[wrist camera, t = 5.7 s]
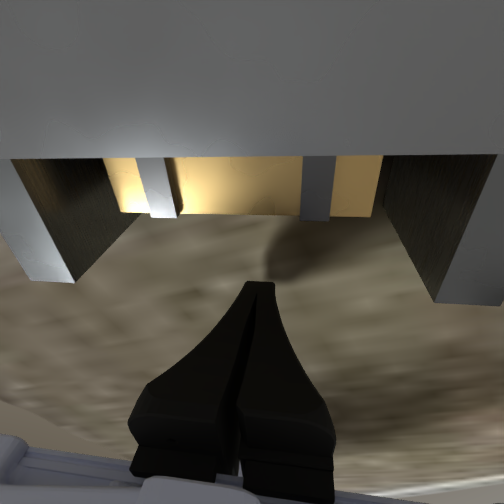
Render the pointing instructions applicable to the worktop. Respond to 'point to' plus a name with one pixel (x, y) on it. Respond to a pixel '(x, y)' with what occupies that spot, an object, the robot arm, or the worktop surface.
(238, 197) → the block
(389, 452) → the worktop surface
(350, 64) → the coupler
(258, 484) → the robot arm
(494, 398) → the worktop surface
